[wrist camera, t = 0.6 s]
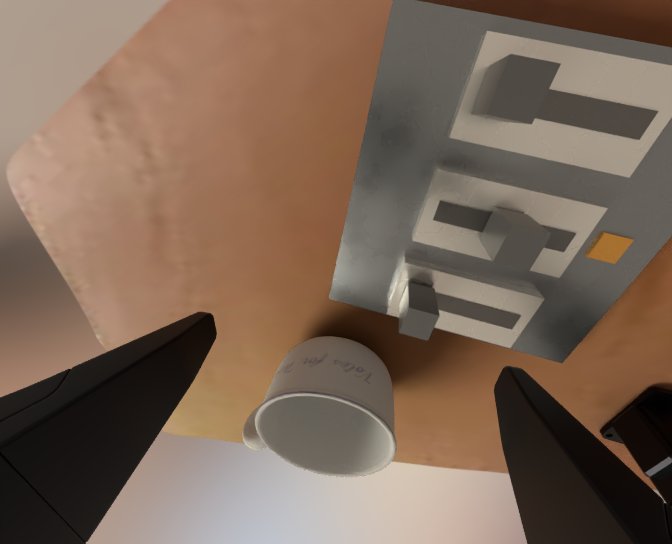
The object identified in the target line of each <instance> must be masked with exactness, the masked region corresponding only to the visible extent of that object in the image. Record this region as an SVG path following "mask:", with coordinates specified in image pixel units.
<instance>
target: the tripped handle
mask: <svg viewBox="0 0 672 544" xmlns="http://www.w3.org/2000/svg"><path fill="white" fill-rule="evenodd" d="M551 235H552V234H551V233H550V232H549V231H547V230H546V229H545V228H544V227H542V226H541V225H540V224H539V223H538V222H536V221H535V220H534V219H533V218H531V217H530V216H529V215H528V214H523V213H519V212H515V211H511V210H507V209H502V208H498V207H494V209H493V211H492V213H491V215H490V218H489V220H488V222H487V224H486V226H485V228H484V230H483V232H482V234H481V236H480V238H479V240H480V241H481V243H482V245H483V246H484V248H485V250H486V251H487V253H488V255H489V256H490V258H491V260H492V261H493V262H496V263H500V264H504V265H508V266H512V267H516V268H520V269H524V270H528V271H529V270H530V269H531V267H532V266H533V264H534V262H535V261H536V259H537V258H538V256H539V254H540V253H541V251H542V250H543V248H544V246H545V245H546V243H547V242H548V240H549V238H550V237H551Z"/></svg>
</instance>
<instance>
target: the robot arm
mask: <svg viewBox="0 0 672 544" xmlns="http://www.w3.org/2000/svg"><path fill="white" fill-rule="evenodd" d="M216 335H217V332H216V327H215V322H214V317H213V315H212V314H211V313H206V312H197V313H195V314H193V315H190V316H188V317H186V318H183V319H181V320H179V321H177V322H174V323H172V324H170V325H168V326H165V327H163V328H161V329H158V330H156V331H154V332H152V333H149V334H147V335H145V336H143V337H140V338H138V339H136V340H133V341H131V342H129V343H127V344H124V345H122V346H120V347H118V348H115V349H113V350H111V351H108V352H106V353H104V354H102V355H99V356H97V357H95V358H93V359H90V360H88V361H86V362H83V363H81V364H79V365H77V366H75V367H73V368H72V369H67V370H65V371H63V372H61V373H58V374H56V375H54V376H52V377H50V378H47V379H45V380H42V381H40V382H37V383H35V384H33V385H31V386H28V387H26V388H23V389H21V390H18V391H16V392H13V393H11V394H8V395H6V396H3V397H0V544H86V542H87V541H88V540H89V538H90V537H91V535H92V534H93V532H94V531H95V529H96V528H97V526H98V525H99V523H100V522H101V520H102V519H103V517H104V516H105V514H106V513H107V511H108V510H109V508H110V507H111V505H112V504H113V502H114V500H115V499H116V497H117V496H118V495H119V493H120V491H121V490H122V488H123V487H124V485H125V484H126V482H127V481H128V479H129V478H130V476H131V475H132V473H133V472H134V470H135V469H136V467H137V466H138V464H139V463H140V461H141V460H142V458H143V457H144V455H145V454H146V452H147V451H148V449H149V448H150V446H151V445H152V443H153V441H154V440H155V438H156V437H157V435H158V434H159V432H160V431H161V429H162V428H163V426H164V425H165V423H166V422H167V420H168V419H169V417H170V416H171V414H172V413H173V411H174V410H175V408H176V407H177V405H178V404H179V402H180V401H181V399H182V398H183V396H184V395H185V393H186V392H187V390H188V388H189V387H190V385H191V384H192V382H193V381H194V379H195V377H196V375H197V374H198V372H199V370H200V368H201V366H202V364H203V362H204V360H205V358H206V356H207V354H208V353H209V351H210V349H211V347H212V345H213V343H214V341H215V339H216ZM494 394H495V401H496V408H497V415H498V422H499V428H500V435H501V441H502V447H503V451H504V456H505V460H506V463H507V467H508V471H509V475H510V479H511V483H512V486H513V490H514V494H515V498H516V502H517V505H518V509H519V513H520V517H521V521H522V524H523V529H524V532H525V536H526V540H527V544H672V391H669V390H665V389H661V388H657V387H652V388H649V389H647V390H646V391H645V392H644V393H642V394H641V395H640V396H639V397H638V398H637V399H635V400H634V401H633V402H632V403H631V404H630V405H628V406H627V407H626V408H625V409H624V410H623V411H622V412H620V413H619V414H618V415H617V416H616V417H615V418H613V419H612V420H611V421H610V422H609V423H608V424H606V425H605V426H604V427H603V428H602V429H601V430H600V433H601V435H602V437H603V438H605V439H608V440H612V441H615V442H619V443H622V444H624V445H625V446H626V448H627V449H628V451H629V452H630V454H631V455H632V457H633V458H634V460H635V461H636V463H637V464H638V466H639V467H640V469H641V470H642V472H643V473H644V474H645V475H646V476H647V477H649V478H650V480H651V481H652V483H653V484H654V486H655V487H656V489H657V490H658V491H659V493H660V495H661V496H662V497H663V499H664V500H665V502H666V503H664V501H663V499H662V498H661V497H660V496H659V495H658V494H657V493H655V492H654V491H653V490H652V489H651V488H650V487H649V486H648V485H647V484H646V483H645V482H644V481H643V480H641V479H640V478H639V477H638V476H637V475H636V474H635V473H634V472H633V471H632V470H631V469H630V468H629V467H627V466H626V465H625V464H624V463H623V462H622V461H621V460H620V459H619V458H618V457H617V456H616V455H615V454H613V453H612V452H611V451H610V450H609V449H608V448H607V447H606V446H605V445H604V444H603V443H602V442H601V441H599V440H598V439H597V438H596V437H595V436H594V435H593V434H592V433H591V432H590V431H589V430H588V429H587V428H585V427H584V426H583V425H582V424H581V423H580V422H579V421H578V420H577V419H576V418H575V417H574V416H573V415H571V414H570V413H569V412H568V411H567V410H566V409H565V408H564V407H563V406H562V405H561V404H560V403H559V402H557V401H556V400H555V399H554V398H553V397H552V396H551V395H550V394H549V393H548V392H547V391H546V390H545V389H543V388H542V387H541V386H540V385H539V384H538V383H537V382H536V381H535V380H534V379H533V378H532V377H531V376H529V375H528V374H527V373H526V372H525V371H524V370H523V369H521V368H517V367H511V366H505V367H504V368H503V369H502V372H501V374H500V376H499V378H498V380H497V382H496V384H495V387H494Z"/></svg>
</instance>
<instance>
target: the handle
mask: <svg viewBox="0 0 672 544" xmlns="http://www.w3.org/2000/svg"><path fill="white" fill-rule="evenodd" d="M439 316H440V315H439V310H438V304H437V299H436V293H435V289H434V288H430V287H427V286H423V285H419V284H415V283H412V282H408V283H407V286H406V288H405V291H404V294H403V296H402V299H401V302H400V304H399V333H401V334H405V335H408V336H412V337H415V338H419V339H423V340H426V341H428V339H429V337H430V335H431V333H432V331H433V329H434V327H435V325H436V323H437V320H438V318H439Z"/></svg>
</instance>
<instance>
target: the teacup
mask: <svg viewBox="0 0 672 544" xmlns="http://www.w3.org/2000/svg"><path fill="white" fill-rule="evenodd" d="M257 432H258V434H257ZM242 437H243V441H244V443H245V444H246V445H247V446H248V447H249V448H251V449H253V450H261V449H264V448H266V447H268V448H269V449H270V450H271V451H272V452H274V453H275V454H276V455H277V456H279V457H280V458H282V459H284V460H285V461H287V462H289V463H291V464H293V465H294V466H297V467H299V468H302V469H304V470H308V471H311V472H314V473H318V474H324V475H329V476H336V477H357V476H365V475H369V474H372V473H375V472H377V471H380V470H382V469H383V468H385V467H386V466H387V465H389V464H390V462H391V461H392V460H393V458H394V456H395V453H396V439H395V435H394V397H393V387H392V381H391V378H390V375H389V372H388V370H387V368H386V366H385V365H384V363H383V362H382V360H381V359H380V358H379V357H378V356H377V355H376V354H375V353H374V352H373V351H371V350H370V349H369V348H367V347H366V346H364V345H362V344H360V343H358V342H355V341H353V340H350V339H346V338H341V337H334V336H324V337H316V338H312V339H309V340H306V341H304V342H302V343H300V344H298V345H296V346H295V347H294V348H293V349H291V350H290V351H289V352H288V354H287V355H286V356H285V357H284V359H283V360H282V362H281V364H280V366H279V368H278V370H277V372H276V374H275V376H274V378H273V380H272V382H271V385H270V387H269V389H268V392H267V394H266V397H265V399H264V402H263V403H262V404H261V405H260V406H259V407H257V408H256V409H255V410H254V411H253V412H252V414H251V415H250V416H249V417H248V419H247V421H246V422H245V425H244V428H243V432H242Z"/></svg>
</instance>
